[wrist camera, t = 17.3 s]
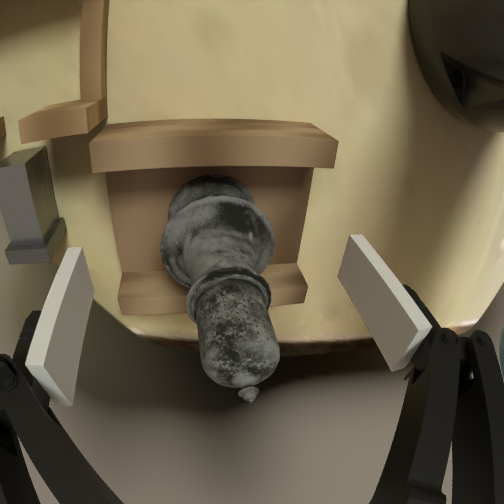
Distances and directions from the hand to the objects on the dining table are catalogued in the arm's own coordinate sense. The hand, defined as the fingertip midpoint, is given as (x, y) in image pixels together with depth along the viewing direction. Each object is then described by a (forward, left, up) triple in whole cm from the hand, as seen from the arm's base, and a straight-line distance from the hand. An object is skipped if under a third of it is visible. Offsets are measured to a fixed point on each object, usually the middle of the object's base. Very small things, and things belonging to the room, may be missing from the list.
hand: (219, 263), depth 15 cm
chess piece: (0, 0, -5) cm, 5 cm away
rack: (0, 0, -6) cm, 6 cm away
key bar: (+12, -2, -6) cm, 13 cm away
